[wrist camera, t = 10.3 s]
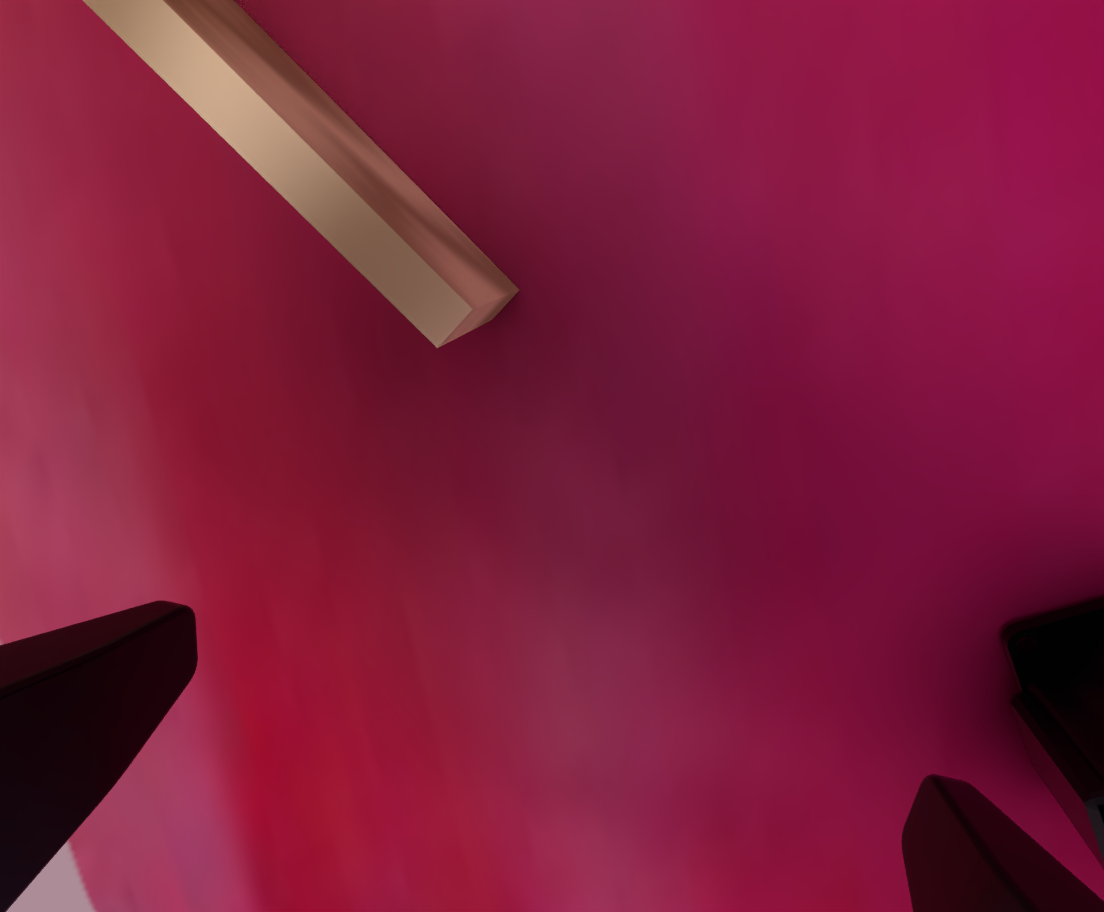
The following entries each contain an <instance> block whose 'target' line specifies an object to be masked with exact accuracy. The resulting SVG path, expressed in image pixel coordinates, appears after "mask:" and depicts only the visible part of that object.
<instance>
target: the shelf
mask: <svg viewBox="0 0 1104 912" xmlns="http://www.w3.org/2000/svg"><path fill="white" fill-rule="evenodd" d="M83 1H84V2H85V3H86V4H87V5H88V6H89V7H90V8H91V9H92V10H93V11H94V12H95V13H96V14H97V15H98V16H99V17H100V18H101V19H102V20H103V21H104V22H105V23H106V24H107V25H108V26H109V27H110V28H111V29H112V30H113V31H114V32H115V33H116V34H117V35H118V36H120V37H121V38H122V39H123V40H124V41H125V42H126V43H127V44H128V45H129V46H130V47H131V48H132V49H133V50H134V51H135V52H136V53H137V54H138V55H139V56H140V57H141V58H142V59H143V60H144V61H145V62H146V63H147V64H148V65H149V66H150V67H151V68H152V69H153V70H154V71H155V72H156V73H157V74H158V75H159V76H160V77H161V78H162V79H163V80H164V81H165V82H166V83H167V84H168V85H169V86H171V87H172V88H173V89H174V90H175V91H176V92H177V93H178V94H179V95H180V96H181V97H182V98H183V99H184V100H185V101H186V102H187V103H188V104H189V105H190V106H191V107H192V108H193V109H194V110H195V111H196V112H197V113H198V114H199V115H200V116H201V117H202V118H203V119H204V120H205V121H206V122H207V123H208V124H209V125H210V126H211V127H212V128H213V129H214V130H215V131H216V132H217V133H218V134H219V135H220V136H222V137H223V138H224V139H225V140H226V141H227V142H228V143H229V144H230V145H231V146H232V147H233V148H234V149H235V150H236V151H237V152H238V153H239V154H240V155H241V156H242V157H243V158H244V159H245V160H246V161H247V162H248V163H249V164H250V165H251V166H252V167H253V168H254V169H255V170H256V171H257V172H258V173H259V174H260V175H261V176H262V177H263V178H264V179H265V180H266V181H267V182H268V183H269V184H270V185H271V186H273V187H274V188H275V189H276V190H277V191H278V192H279V193H280V194H281V195H282V196H283V197H284V198H285V199H286V200H287V201H288V202H289V203H290V204H291V205H292V206H293V207H294V208H295V209H296V210H297V211H298V212H299V213H300V214H301V215H302V216H303V217H304V218H305V219H306V220H307V221H308V222H309V223H310V224H311V225H312V226H313V227H314V228H315V229H316V230H317V231H318V232H319V233H320V234H321V235H322V236H323V237H325V238H326V239H327V240H328V241H329V242H330V243H331V244H332V245H333V246H334V247H335V248H336V249H337V250H338V251H339V252H340V253H341V254H342V255H343V256H344V257H345V258H346V259H347V260H348V261H349V262H350V263H351V264H352V265H353V266H354V267H355V268H356V269H357V270H358V271H359V272H360V273H361V274H362V275H363V276H364V277H365V278H366V279H367V280H368V281H369V282H370V283H371V284H372V285H373V286H374V287H376V288H377V289H378V290H379V291H380V292H381V293H382V294H383V295H384V296H385V297H386V298H387V299H388V300H389V301H390V302H391V303H392V304H393V305H394V306H395V307H396V308H397V309H398V310H399V311H400V312H401V313H402V314H403V315H404V316H405V317H406V318H407V319H408V320H409V321H410V322H411V323H412V324H413V325H414V326H415V327H416V328H417V329H418V330H419V331H420V332H421V333H422V334H423V335H424V336H425V337H427V338H428V339H429V340H430V341H431V342H432V343H433V344H434V345H435V346H436V347H437V348H439V347H441V346H443V345H445V344H446V343H448V342H450V341H452V340H454V339H456V338H458V337H460V336H462V335H464V334H466V333H468V332H470V331H472V330H474V329H475V328H477V327H479V326H481V325H483V324H485V323H487V322H489V321H491V320H492V319H493V318H494V317H495V316H496V315H497V314H498V313H499V312H500V311H501V310H502V309H503V307H504V306H505V305H506V304H507V303H508V302H509V301H510V300H511V299H512V298H513V297H514V296H515V294H516V293H517V292H518V291H519V289H518V288H517V287H516V286H515V285H514V284H513V283H512V282H511V281H510V280H509V278H508V277H507V276H506V275H505V274H504V273H503V272H502V271H501V270H500V269H499V268H498V267H497V266H496V265H495V264H494V263H493V262H492V261H491V260H490V259H489V258H488V257H487V256H486V255H485V254H484V253H483V252H482V251H481V250H480V249H479V248H478V247H477V246H476V245H475V244H474V243H473V242H472V241H471V240H470V239H469V238H468V237H467V236H466V235H465V234H464V233H463V232H462V231H461V230H460V229H459V228H458V227H457V226H456V225H455V224H454V223H453V222H452V221H451V220H450V219H449V218H448V217H447V216H446V215H445V214H444V213H443V212H442V211H441V210H440V209H439V208H438V207H437V206H436V205H435V203H434V202H433V201H432V200H431V199H430V198H429V197H428V196H427V195H426V194H425V193H424V192H423V191H422V190H421V189H420V188H419V187H418V186H417V185H416V184H415V183H414V182H413V181H412V180H411V179H410V178H409V177H408V176H407V175H406V174H405V173H404V172H403V171H402V170H401V169H400V168H399V167H398V166H397V165H396V164H395V163H394V162H393V161H392V160H391V159H390V158H389V157H388V156H387V155H386V154H385V153H384V152H383V151H382V150H381V149H380V148H379V147H378V146H377V145H376V144H375V143H374V142H373V141H372V140H371V139H370V138H369V137H368V136H367V135H366V134H365V133H364V132H363V131H362V130H361V128H360V127H359V126H358V125H357V124H356V123H355V122H354V121H353V120H352V119H351V118H350V117H349V116H348V115H347V114H346V113H345V112H344V111H343V110H342V109H341V108H340V107H339V106H338V105H337V104H336V103H335V102H334V101H333V100H332V99H331V98H330V97H329V96H328V95H327V94H326V93H325V92H324V91H323V90H322V89H321V88H320V87H319V86H318V85H317V84H316V83H315V82H314V81H313V80H312V79H311V78H310V77H309V76H308V75H307V74H306V73H305V72H304V71H303V70H302V69H301V68H300V67H299V66H298V65H297V64H296V63H295V62H294V61H293V60H292V59H291V58H290V57H289V56H288V55H287V54H286V52H285V51H284V50H283V49H282V48H281V47H280V46H279V45H278V44H277V43H276V42H275V41H274V40H273V39H272V38H271V37H270V36H269V35H268V34H267V33H266V32H265V31H264V30H263V29H262V28H261V27H260V26H259V25H258V24H257V23H256V22H255V21H254V20H253V19H252V18H251V17H250V16H249V15H248V14H247V13H246V12H245V11H244V10H243V9H242V8H241V7H240V6H239V5H238V4H237V3H236V2H235V1H234V0H83Z"/></svg>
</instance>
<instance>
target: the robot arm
mask: <svg viewBox="0 0 1104 912" xmlns="http://www.w3.org/2000/svg"><path fill="white" fill-rule="evenodd" d="M1024 637H1029V639H1028V641H1027V642H1025V643H1023V644H1017V643H1018V641H1019V640H1020V639H1022V638H1024ZM1001 638H1002V644H1003V647H1004V650H1005V652H1006V655H1007V658H1008V661H1009V664H1010V667H1011V670H1012V673H1013V675H1014V678H1015V681H1016V684H1017V687H1018V690H1019V692H1018V693H1014V694H1013V696H1012V698H1011V701H1010V705H1011V708H1012V710H1013V713H1014V716H1015V719H1016V722H1017V725H1018V727H1019V730H1020V733H1021V736H1022V739H1023V742H1024V744H1025V747H1026V750H1027V753H1028V756H1029V759H1030V761H1031V764H1032V765H1033V767H1034V768H1035V770H1036V771H1037V773H1038V774H1039V776H1040V777H1041V778H1042V780H1043V781H1044V783H1045V784H1046V786H1047V787H1048V789H1049V790H1050V792H1051V793H1052V795H1053V796H1054V797H1055V799H1056V800H1057V802H1058V803H1059V805H1060V806H1061V808H1062V809H1063V811H1064V812H1065V813H1066V815H1067V816H1068V818H1069V819H1070V821H1071V822H1072V824H1073V825H1074V827H1075V828H1076V829H1077V831H1078V832H1079V834H1080V835H1081V837H1082V838H1083V840H1084V841H1085V843H1086V844H1087V846H1088V847H1089V848H1090V850H1091V851H1092V853H1093V854H1094V856H1095V857H1096V859H1097V860H1098V862H1099V863H1100V864H1101V866H1102V867H1103V869H1104V598H1102V599H1099V600H1095V601H1091V602H1088V603H1084V604H1081V605H1077V606H1074V607H1070V608H1066V609H1063V610H1059V611H1056V612H1052V613H1049V614H1045V615H1041V616H1038V617H1034V618H1031V619H1027V620H1023V621H1020V622H1016V623H1014V624H1012V625H1009V626H1008V627H1007V628H1006V629H1005V630H1004V631H1003V633H1002V636H1001ZM197 661H198V654H197V636H196V618H195V614H194V612H193V610H192V609H191V608H190V607H189V606H186V605H182V604H178V603H173V602H169V601H155V602H151V603H148V604H144V605H141V606H137V607H134V608H130V609H127V610H123V611H120V612H116V613H113V614H109V615H106V616H102V617H99V618H95V619H92V620H88V621H85V622H81V623H78V624H74V625H70V626H67V627H63V628H60V629H56V630H53V631H49V632H46V633H42V634H39V635H35V636H32V637H28V638H25V639H21V640H18V641H14V642H11V643H7V644H4V645H0V912H6V911H7V910H8V909H9V907H10V906H11V905H12V904H13V903H14V902H15V901H16V899H17V898H18V897H19V896H20V895H21V894H22V892H23V891H24V890H25V889H26V888H27V887H28V886H29V884H30V883H31V882H32V881H33V880H34V879H35V877H36V876H37V875H38V874H39V873H40V872H41V870H42V869H43V868H44V867H45V866H46V865H47V864H48V862H49V861H50V860H51V859H52V858H53V857H54V855H55V854H56V853H57V852H58V851H59V849H60V848H61V847H62V846H63V845H64V844H65V843H66V842H67V840H68V839H69V838H70V837H71V836H72V835H73V833H74V832H75V831H76V830H77V829H78V828H79V826H80V825H81V824H82V823H83V822H84V821H85V820H86V818H87V817H88V816H89V815H90V814H91V813H92V811H93V810H94V809H95V808H96V807H97V806H98V805H99V803H100V802H101V801H102V800H103V798H104V797H105V796H106V795H107V794H108V792H109V791H110V790H111V789H112V788H113V786H114V785H115V784H116V783H117V781H118V780H119V779H120V777H121V776H122V775H123V773H124V772H125V771H126V769H127V768H128V767H129V765H130V764H131V763H132V761H133V760H134V758H135V757H136V756H137V754H138V753H139V752H140V750H141V749H142V747H143V746H144V745H145V743H146V742H147V740H148V739H149V738H150V736H151V735H152V733H153V732H154V731H155V729H156V728H157V727H158V725H159V724H160V722H161V721H162V720H163V718H164V717H165V715H166V714H167V713H168V711H169V710H170V708H171V707H172V706H173V704H174V703H175V702H176V700H177V699H178V697H179V696H180V695H181V693H182V692H183V690H184V689H185V688H186V686H187V685H188V683H189V682H190V680H191V679H192V677H193V675H194V673H195V670H196V667H197ZM902 852H903V858H904V864H905V869H906V875H907V880H908V886H909V891H910V897H911V903H912V908H913V912H1104V901H1103V900H1102V899H1100V898H1099V897H1098V896H1097V895H1096V894H1095V893H1094V892H1093V891H1091V890H1090V889H1089V888H1088V887H1087V886H1086V885H1085V884H1083V883H1082V882H1081V881H1080V880H1079V879H1078V878H1077V877H1076V876H1074V875H1073V874H1072V873H1071V872H1070V871H1069V870H1068V869H1066V868H1065V867H1064V866H1063V865H1062V864H1061V863H1060V862H1059V861H1057V860H1056V859H1055V858H1054V857H1053V856H1052V855H1051V854H1049V853H1048V852H1047V851H1046V850H1045V849H1044V848H1043V847H1042V846H1040V845H1039V844H1038V843H1037V842H1036V841H1035V840H1034V839H1032V838H1031V837H1030V836H1029V835H1028V834H1027V833H1026V832H1024V831H1023V830H1022V829H1021V828H1020V827H1019V826H1018V825H1017V824H1015V823H1014V822H1013V821H1012V820H1011V819H1010V818H1009V817H1007V816H1006V815H1005V814H1004V813H1003V812H1002V811H1001V810H1000V809H998V808H997V807H996V806H995V805H994V804H993V803H992V802H990V801H989V800H988V799H987V798H986V797H985V796H984V795H983V794H981V793H980V792H979V791H978V790H977V789H976V788H975V787H973V786H972V785H971V784H969V783H967V782H965V781H962V780H957V779H953V778H949V777H944V776H940V775H935V774H932V775H928V776H926V777H925V778H924V779H923V781H922V783H921V785H920V787H919V790H918V792H917V795H916V797H915V800H914V802H913V805H912V807H911V810H910V812H909V815H908V817H907V820H906V822H905V825H904V828H903V833H902Z"/></svg>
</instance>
